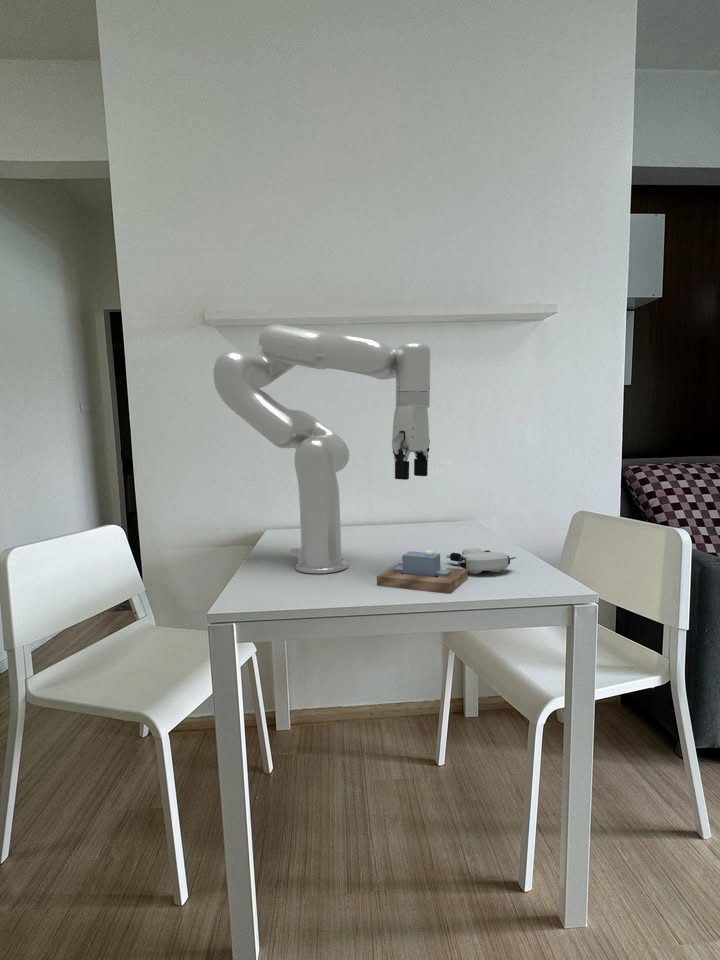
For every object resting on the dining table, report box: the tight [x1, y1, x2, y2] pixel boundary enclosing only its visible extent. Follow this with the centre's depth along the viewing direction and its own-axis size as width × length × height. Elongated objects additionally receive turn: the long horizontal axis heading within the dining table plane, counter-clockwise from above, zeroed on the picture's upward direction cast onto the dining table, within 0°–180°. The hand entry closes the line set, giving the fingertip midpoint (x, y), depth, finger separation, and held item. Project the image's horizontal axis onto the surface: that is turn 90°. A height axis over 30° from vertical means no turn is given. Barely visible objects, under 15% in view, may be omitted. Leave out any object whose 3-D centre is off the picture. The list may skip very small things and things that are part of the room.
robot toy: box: [445, 547, 517, 575], centre depth 127 cm, size 12×4×15 cm
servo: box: [393, 549, 451, 578], centre depth 117 cm, size 12×4×7 cm, turn 63°
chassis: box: [376, 562, 469, 594], centre depth 117 cm, size 16×12×2 cm
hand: (411, 477), depth 124 cm, fingers open, 9 cm apart
